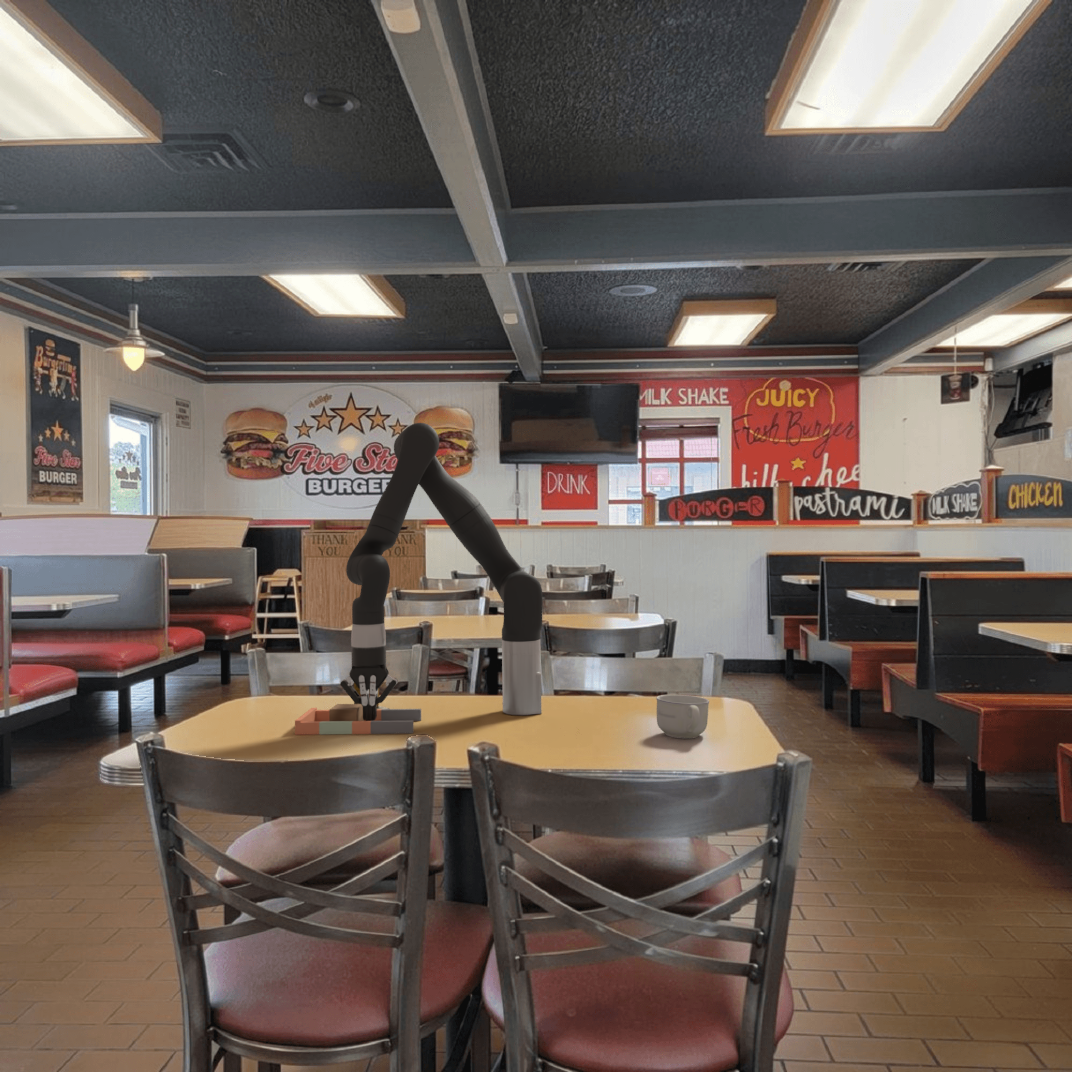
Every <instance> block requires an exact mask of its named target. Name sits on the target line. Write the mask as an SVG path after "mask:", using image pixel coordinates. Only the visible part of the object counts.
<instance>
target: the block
mask: <svg viewBox="0 0 1072 1072" xmlns="http://www.w3.org/2000/svg"><path fill="white" fill-rule="evenodd" d="M328 710H329V721H363V706H362V705H361V704H354V703H337V704H335V705H334V706H332V707H331V708H329V709H328Z"/></svg>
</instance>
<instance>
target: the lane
mask: <svg viewBox="0 0 1072 1072" xmlns="http://www.w3.org/2000/svg"><path fill="white" fill-rule="evenodd" d="M419 721H420V722H421V721H422V708H389V709H377V717H376V719H375V720H374V721H366V720H364V719H363V721H329V709H318V708H317V707H311V708H309V709H308V710H307V711H305V712H304V713H302V715H300V716H299V717H298V718H296V719H295V720H294V735H295V736H296V735H298V736H299V735H367V734H368V735H370V734H371V735H374V734H375V735H378V734H381V735H382V734H385V735H386V734H388V735H389V734H393V735H394V734H414V722H419Z"/></svg>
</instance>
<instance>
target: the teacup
mask: <svg viewBox="0 0 1072 1072" xmlns="http://www.w3.org/2000/svg"><path fill="white" fill-rule="evenodd" d="M655 699H656V723H657V727H658V728H659V729H660V730H661V732H663V733H664V735H665V736H668V737H669V738H670V737H671V738H676V739H695V738H698V737H699V736H700V735H701V734H702V733H704V732H706V731H705V730H706V729H707V726H708V719H709V704H710V700H709V699H707V698H705V697H702V696H696V695H688V694H687V695H686V694H661V695H658V696H656V698H655Z"/></svg>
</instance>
